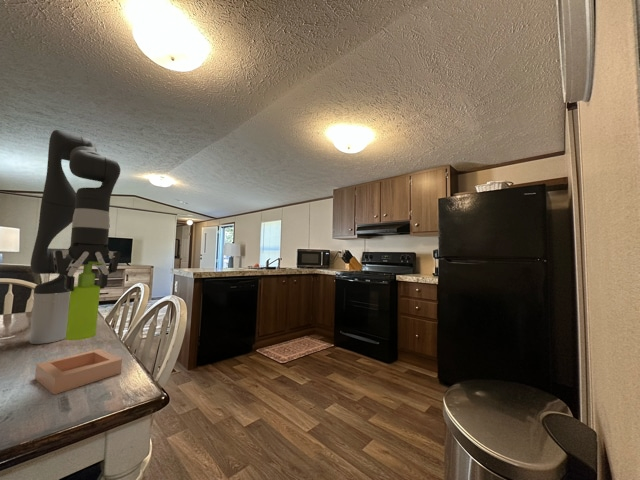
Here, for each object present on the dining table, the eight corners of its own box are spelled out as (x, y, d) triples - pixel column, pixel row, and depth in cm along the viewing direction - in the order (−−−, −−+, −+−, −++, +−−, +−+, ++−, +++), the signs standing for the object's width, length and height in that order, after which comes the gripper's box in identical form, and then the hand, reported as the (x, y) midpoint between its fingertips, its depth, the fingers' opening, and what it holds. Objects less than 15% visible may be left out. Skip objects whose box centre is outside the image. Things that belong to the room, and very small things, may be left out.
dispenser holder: (34, 378, 65) (36, 363, 65) (98, 361, 76) (99, 348, 77) (53, 394, 58) (55, 378, 58) (121, 372, 69) (121, 359, 69)
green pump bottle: (80, 341, 64) (88, 261, 66) (59, 339, 66) (67, 260, 67) (104, 335, 70) (111, 261, 72) (84, 332, 71) (91, 260, 73)
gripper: (116, 230, 78) (112, 286, 77) (49, 224, 65) (43, 291, 64) (128, 229, 74) (124, 288, 73) (59, 223, 62) (53, 294, 61)
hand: (86, 289), depth 69 cm, fingers closed on green pump bottle, 6 cm apart
